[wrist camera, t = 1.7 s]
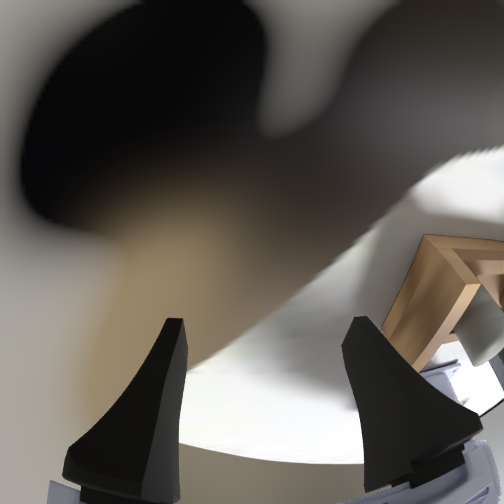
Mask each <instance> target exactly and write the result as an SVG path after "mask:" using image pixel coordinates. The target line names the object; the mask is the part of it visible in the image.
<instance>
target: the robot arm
mask: <svg viewBox="0 0 504 504" xmlns="http://www.w3.org/2000/svg"><path fill="white" fill-rule="evenodd" d="M341 346H342V352H343V358H344V364H345V368H346V371H347V374H348V378H349V381H350V384H351V388H352V391H353V394H354V397H355V401H356V404H357V408H358V412H359V417H360V423H361V430H362V438H363V449H364V488H365V492H366V493H367V492H371V491H374V490H377V489H380V488H383V487H386V486H389V485H392V488H390V489H387V490H384V491H381V492H377V493H374V494H371V495H368V496H364V497H361V498H357V499H353V500H349V501H345V502H341V503H337V504H498V502H499V500H500V496H501V487H500V483H499V481H500V480H499V475H498V471H497V467H496V463H495V460H494V457H493V454H492V451H491V448H490V446H489V443H488V442H487V441H486V440H482V439H480V440H478V441H477V442H476V440H472V439H473V437H474V436H476V435H477V434H478V433H480V432H481V431H482V430H483V426H482V424H481V421H480V418H479V416H478V414H477V413H475V412H473V411H471V410H469V409H467V408H466V407H464V406H462V405H460V404H459V401H458V399H457V397H456V394H455V392H454V390H453V387H452V385H451V383H450V381H449V379H450V378H451V377H452V376H453V374H454V373H455V372H456V371H457V370H458V369H459V368H460V367H461V364H460V363H456V364H452V365H449V366H445V367H442V368H438V369H434V370H431V371H427V372H423V373H418V372H417V371H416V370H415V369H414V368H413V367H412V366H411V365H410V364H409V363H408V362H407V361H406V360H405V359H404V358H403V357H402V356H401V355H400V354H399V353H398V352H397V350H396V349H395V348H394V347H393V346H392V345H391V344H390V342H389V341H388V340H387V339H386V338H385V337H384V335H383V334H382V333H381V332H380V331H379V330H378V328H377V327H376V326H375V325H374V324H373V323H372V321H371V320H370V319H369V318H368V317H367V316H360V317H354V319H353V321H352V324H351V326H350V328H349V330H348V332H347V335H346V337H345V339H344V341H343V343H342V345H341ZM187 354H188V346H187V340H186V334H185V328H184V322H183V318H167V319H166V321H165V323H164V325H163V328H162V330H161V332H160V334H159V336H158V338H157V340H156V342H155V343H154V346H153V347H152V349H151V351H150V353H149V355H148V356H147V358H146V359H145V361H144V363H143V364H142V366H141V367H140V369H139V371H138V372H137V374H136V375H135V377H134V378H133V380H132V381H131V383H130V384H129V385H128V387H127V388H126V390H125V391H124V392H123V393H122V395H121V396H120V397H119V398H118V400H117V401H116V402H115V403H114V404H113V406H112V407H111V408H110V409H109V410H108V411H107V413H106V414H105V415H104V416H103V417H102V418H101V419H100V420H99V421H98V422H97V423H96V424H95V425H94V426H93V427H92V428H91V429H90V430H89V431H88V432H87V433H85V434H84V435H83V436H82V437H81V438H79V439H78V440H77V441H76V442H75V443H74V444H72V445H71V446H70V447H69V449H68V451H67V454H66V457H65V461H64V467H63V473H62V476H63V477H64V479H66V480H68V481H71V482H73V483H76V484H78V485H80V486H81V491H79V490H76V489H74V488H71V487H68V486H65V485H62V484H60V483H57V482H55V481H52V480H50V482H49V490H48V497H47V504H173V503H176V502H177V501H178V500H180V486H179V450H178V449H179V447H178V445H179V419H180V411H181V404H182V397H183V391H184V384H185V378H186V372H187Z"/></svg>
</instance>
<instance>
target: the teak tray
mask: <svg viewBox="0 0 504 504" xmlns="http://www.w3.org/2000/svg"><path fill="white" fill-rule="evenodd" d="M382 329H383V331H384V333H385V336H386V338H387V340H388V341H389V342H390V344H391V345H392V346H393V347H394V348H395V349H396V350H397V352H398V353H399V354H400V355H401V356H402V357H403V358H404V359H405V360H406V361H407V362H408V363H409V364H410V365H411V366H412V367H413V368H414V369H415V370H416V371H417V372H418V373H419V372H420V371H421V370H422V369H423V367H424V366H425V365H426V364H427V363H428V361H429V360H430V359H431V358H432V356H433V355H434V354H435V352H436V351H437V350H438V349H439V347H440V346H441V345H442V344H445V343H449V342H454V341H458V340H459V341H460V342H461V344H462V346H463V348H464V350H465V351H466V353H467V355H468V357H469V359H470V361H471V363H472V365H473V366H479V365H482V364H484V363H485V362H487V361H489V360H490V359H491V358H493V357H494V356H495V355H496V354H498V353H499V352H500V351H501V350H502V349H503V348H504V241H494V240H484V239H473V238H462V237H451V236H438V235H426V234H424V236H423V239H422V241H421V244H420V246H419V249H418V251H417V254H416V256H415V258H414V261H413V263H412V265H411V268H410V270H409V272H408V274H407V277H406V279H405V281H404V283H403V285H402V287H401V290H400V292H399V294H398V296H397V298H396V300H395V302H394V304H393V306H392V308H391V310H390V312H389V314H388V316H387V318H386V319H385V321H384V323H383V325H382Z"/></svg>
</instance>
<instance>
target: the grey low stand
mask: <svg viewBox="0 0 504 504" xmlns="http://www.w3.org/2000/svg"><path fill="white" fill-rule="evenodd" d="M489 363H490V365H491V366H492V368H493V370H494V372H495V374H496V376H497V378H498V380H499V382H500V384H501V386H502V388H503V390H504V348H503V349H502V350H501V351H500V352H499V353H498V354H496V355H495V356H494V357H493V358H491V359H490V360H489Z"/></svg>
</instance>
